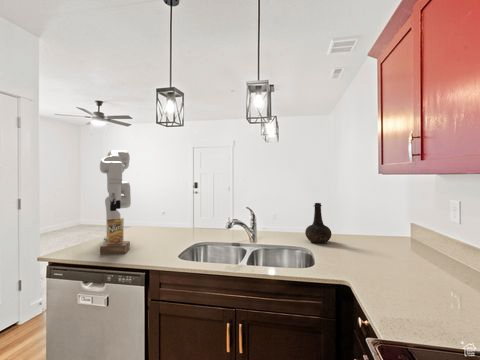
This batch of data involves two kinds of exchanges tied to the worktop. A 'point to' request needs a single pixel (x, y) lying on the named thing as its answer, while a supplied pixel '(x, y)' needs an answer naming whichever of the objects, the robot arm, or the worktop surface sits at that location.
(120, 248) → the walnut block
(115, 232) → the candy box
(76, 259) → the worktop surface
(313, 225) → the glass bottle
